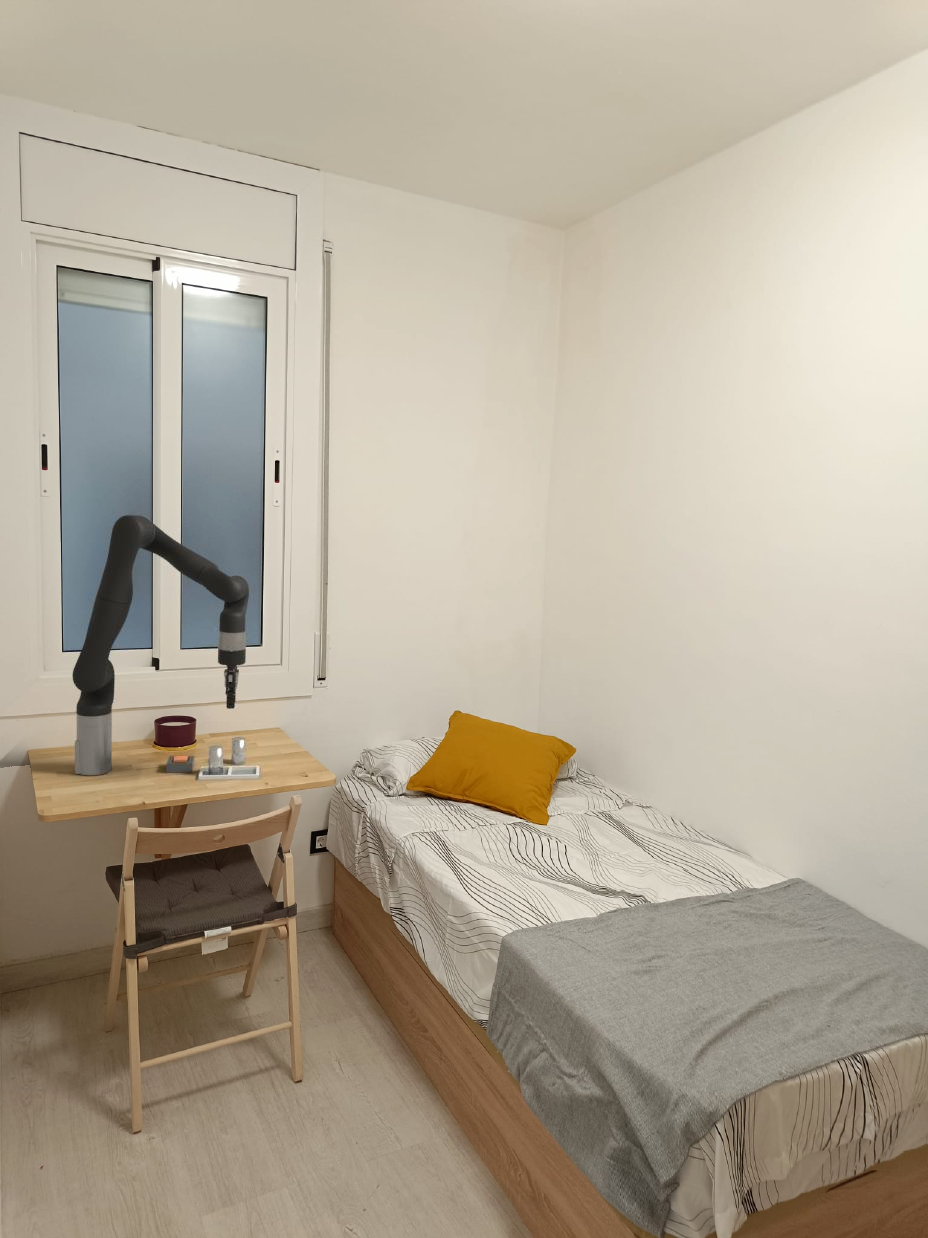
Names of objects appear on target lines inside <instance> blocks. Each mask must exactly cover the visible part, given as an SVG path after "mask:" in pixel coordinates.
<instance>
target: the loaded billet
mask: <svg viewBox="0 0 928 1238" xmlns="http://www.w3.org/2000/svg"><path fill="white" fill-rule="evenodd" d="M223 766H224V746H222V745H210V746H209V747H208V766H207V767H208V775H223Z"/></svg>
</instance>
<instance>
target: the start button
mask: <svg viewBox="0 0 928 1238" xmlns="http://www.w3.org/2000/svg"><path fill="white" fill-rule="evenodd" d="M174 756H175V757H174V760H173V762H188V756H189V755H174Z"/></svg>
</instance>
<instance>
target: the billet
mask: <svg viewBox="0 0 928 1238" xmlns="http://www.w3.org/2000/svg"><path fill="white" fill-rule="evenodd" d="M246 740H247V739H246V737H242V736H236V737H233V738H231V759H230V760H231V764H232V765H233V766H244V764H246V746H247V745H246V743H247V742H246Z"/></svg>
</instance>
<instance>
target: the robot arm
mask: <svg viewBox="0 0 928 1238" xmlns="http://www.w3.org/2000/svg"><path fill="white" fill-rule="evenodd" d="M110 534H111V535H110V540H109V541H110V542H109V547H108V554H107V558H106V562H105V566H104V569H103V572H102V576H101V579H100V583H99V586H98V589H97V593H96V596H95V599H94V602H93V607H92V611H91V615H90V618H89V622H88V626H87V631H86V635H85V638H84V639H85V640H84V642H83V645H82V647H81V650H80V653H79V656H78V658H77V660H76V662H75V665H74V667H73V670H72V676H71V677H72V682H73V685H74V686H75V687H76V688H77V689H78V690H80V695H79V698H78V701H77V703H76V740H75V741H74V774H76V775H83V776H100V775H104V774H107V773H110V772H111V771H112V770H113V766H112V765H113V762H112V760H113V759H112V758H113V755H112V754H113V753H112V752H113V745H112V743H113V739H112V738H113V736H112V735H113V733H112V732H113V731H112V730H113V729H112V728H113V727H112V726H113V725H112V724H113V720H112V719H113V718H112V717H113V715H112V714H113V713H112V712H113V710H112V709H113V703H114V699H115V679H116V678H115V676H116V675H115V667H114V665H113V663H112V662H111V660H110V659H109V658H110V654H111V650H112V647H113V646H114V643H115V641H116V640H117V638H118V636H119V634H120V632H121V631H122V628H123V627H124V625H125V623H126V620H127V618H128V616H129V613H130V609H131V605H132V601H133V595H134V584H133V583H134V582H133V569H134V565H135V562H136V558H137V555H138V553H139V550H140V549H142V550H145V551H148V552H151V553H152V554H155V555H156V556H159V557H160V558H162V559H163V560H165V561H166V562H167V563H169V564H170V565H171V566H172V567H173V568H174V569H175V570H177V571H178V572H179V573H180V574H182V575H183V576H185V577H187V578H188V579H190V580H191V581H194V582H195V583H197V584H199V585H201V586H202V587H204V588H205V589H206V590H207V591H208V592H210V593H211V594H212V595H213V596H215V597H216V598H218V599H219V600H221V601H223V603H224V605H223V610H222V611H221V612H220V614H219V624H218V625H219V627H218V628H219V632H218V638H217V639H218V641H217V643H218V644H217V663H218V664H219V665H221V666H226V668H225V669H224V670H223V677H224V688H225V696H226V701H225V702H226V703H225V704H226V709H230V710H231V709H235V706H236V705H235V703H236V702H237V701H236V700H237V699H236V696H237V692H236V691H237V689H238V683H239V676H240V669H238V666H242V665H243V666H244V664H246V662H247V661H246V658H247V656H246V655H247V653H246V652H247V649H246V648H247V638H246V637H247V636H246V613H247V609H248V604H249V598H250V597H249V596H250V586H249V584H248V583H249V582H248V581H247V580H246V578H244V577H242V576H240V575H231V576H230V575H229V574H226V573H225V572H223V571H221V570H220V568H219V566H218V565H217V564H215V563H214V562H212V561H211V560H209V559H208V558H206V557H204V556H203V555H201V554H199V553H197V552H195V551H194V550H192V549H190V548H188V547H187V546H184V545H183V544H181V542H178V541H176V540H175V539H174V538H173V537H172V536H170V535H168V533H166V532H164V531H163V530H162V529H161V528H160V527H158V526H157V525H156V524H154V523H153V522H152V521H151V520H149V519H148V517H145V516H143V515H137V514H127V515H123V516H120V517H119V518H118V519H116V521H115V522H114V524H113V526H112V531H111V533H110Z"/></svg>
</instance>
